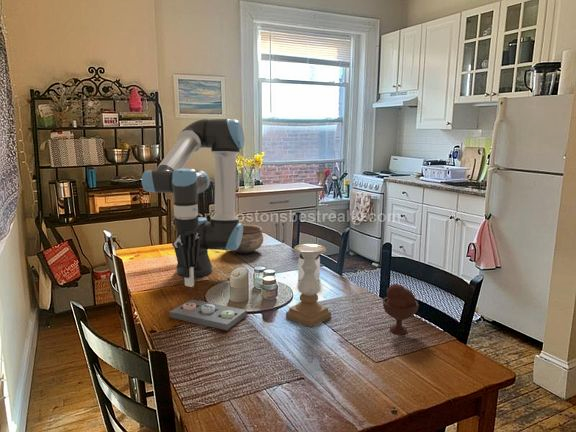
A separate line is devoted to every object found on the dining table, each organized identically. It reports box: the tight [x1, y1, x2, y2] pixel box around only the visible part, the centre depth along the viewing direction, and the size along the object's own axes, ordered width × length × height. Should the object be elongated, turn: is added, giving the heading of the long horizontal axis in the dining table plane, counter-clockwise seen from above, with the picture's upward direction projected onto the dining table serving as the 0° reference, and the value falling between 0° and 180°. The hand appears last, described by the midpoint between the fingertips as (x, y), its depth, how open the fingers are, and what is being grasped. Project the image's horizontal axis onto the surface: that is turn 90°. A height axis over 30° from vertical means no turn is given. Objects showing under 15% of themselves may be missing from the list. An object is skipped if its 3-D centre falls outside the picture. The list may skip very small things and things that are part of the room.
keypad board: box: [169, 298, 247, 331], centre depth 147 cm, size 22×12×2 cm, turn 65°
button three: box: [201, 303, 215, 315], centre depth 147 cm, size 4×4×3 cm
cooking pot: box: [233, 224, 264, 255], centre depth 222 cm, size 25×19×12 cm
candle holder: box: [285, 243, 332, 328], centre depth 145 cm, size 11×11×24 cm
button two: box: [182, 302, 196, 311], centre depth 150 cm, size 4×4×3 cm
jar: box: [297, 253, 321, 281], centre depth 184 cm, size 9×8×12 cm
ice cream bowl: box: [382, 283, 420, 336], centre depth 137 cm, size 11×11×15 cm
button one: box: [221, 310, 235, 319], centre depth 144 cm, size 4×4×3 cm
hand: (189, 285), depth 149 cm, fingers closed
